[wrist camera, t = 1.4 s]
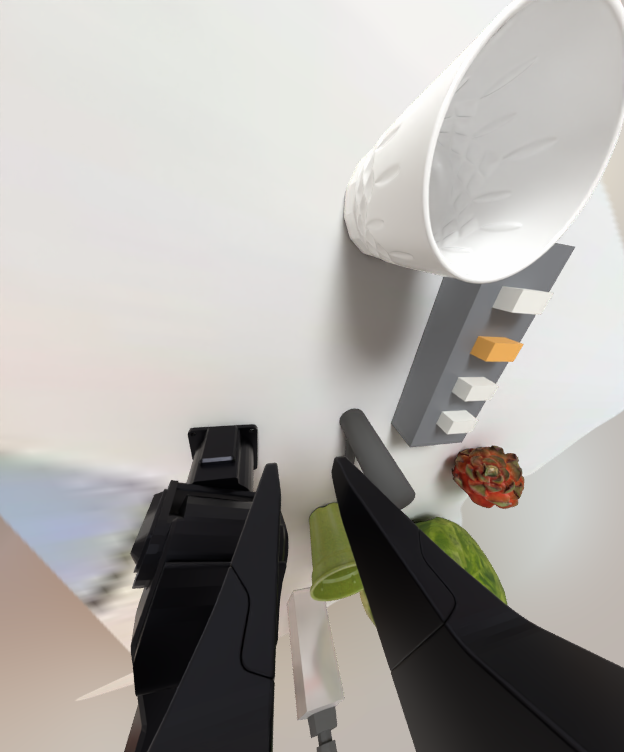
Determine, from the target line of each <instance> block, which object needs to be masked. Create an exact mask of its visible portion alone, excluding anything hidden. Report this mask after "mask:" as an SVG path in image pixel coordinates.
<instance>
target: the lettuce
mask: <svg viewBox="0 0 624 752" xmlns="http://www.w3.org/2000/svg"><path fill="white" fill-rule="evenodd" d="M414 524H415V525H416V526H418V528H419V529H421V530H422V531H423V532H424V533H425V534H426V535H427V536H428V537H429V538H430V539H431V540H432V541H433V542H434V543H435V544H436V545H437V546H439V547H440V548H441V549H442V550H443V551H444V552H445V553H446V554H447V555H448V556H450V557H451V558H452V559H453V560H454V561H455V562H456V563H458V564H459V565H460V566H461V567H462V568H463V569H465V570H466V571H467V572H468V573H469V574H471V575H472V576H473V577H474V578H475V579H476V580H478V581H479V582H480V583H481V584H482V585H484V586H485V587H486V588H487V589H488V590H490V591H491V592H492V593H493V594H494V595H495V596H497V597H498V598H499V599H500V600H501V601H503V602H504V603H505V604H506V605H507V601H506V596H505V592H504V589H503V587H502V585H501V583H500V580H499V578H498V576H497V574H496V572H495V570H494V569H493V567H492V565H491V564H490V562H489V560H488V559H487V557H486V555H485V554H484V553H483V551H482V550H481V549H480V547H479V545H478V544H477V543H476V542H475V540H474V539H473V538H472V537H471V536H470V535H469V534H468V532H467V531H466V530H465V529H463V528H462V527H461V526H459V525H458V524H456V523H454V522H452V521H450V520H447V519H444V518H439V517H436V518H434V519H431V520H428V521H425V522H419V523H414ZM360 597H361V601H362V604H363V606H364V609H365V611H366V613H367V615H368V617H369V618H370V619H371V621H372V622H373V624H374V625H375V622H374V619H373V616H372V612H371V609H370V606H369V603H368V600H367V597H366V594H365V591H364V589H363V590H361V591H360ZM375 626H376V625H375Z"/></svg>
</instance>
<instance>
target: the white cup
mask: <svg viewBox="0 0 624 752" xmlns="http://www.w3.org/2000/svg"><path fill="white" fill-rule="evenodd" d="M623 121H624V7H623V5H622V3H621V1H620V0H514V1H513V2H512V3H510V4H509V5H508V6H507V7H506V8H505V9H504V10H503V11H502V12H501V13H500V14H499V15H498V16H497V17H496V18H495V19H494V20H493V21H492V22H491V23H490V24H489V25H488V26H487V27H486V28H485V29H484V30H483V31H482V32H481V33H480V34H479V35H478V36H477V37H476V38H475V39H474V40H473V41H472V43H471V44H470V45H469V46H468V47H467V48H466V49H465V50H464V51H463V52H462V53H461V54H460V55H459V56H458V57H457V58H456V59H455V60H454V61H453V62H452V63H451V64H450V65H449V66H448V67H447V68H446V69H445V70H444V71H443V72H442V73H441V74H440V75H439V76H438V77H437V78H436V79H435V80H434V81H433V82H432V83H431V84H430V85H429V86H428V87H427V88H426V89H425V90H424V91H423V92H422V93H421V94H420V95H419V96H418V97H417V98H416V99H415V100H414V101H413V102H412V103H411V104H410V106H409V107H408V108H407V109H406V110H405V111H404V112H403V113H402V115H401V116H400V117H399V118H398V119H397V120H396V121H395V122H394V123H393V124H392V125H391V126H390V127H389V128H388V130H387V131H386V132H385V133H384V134H383V135H382V136H381V137H380V139H379V140H378V142H377V143H376V144H375V146H374V147H373V148H372V150H371V151H370V152H369V153H368V154H367V155H365V156H364V157H363V158H362V159H361V160H360V161H359V162H358V164H357V166H356V168H355V170H354V172H353V175H352V177H351V179H350V181H349V183H348V185H347V188H346V194H345V206H344V219H345V222H346V226H347V229H348V233H349V237H350V239H351V240H352V241H353V242H354V244H355V245H356V246H357V247H358V248H359V249H360V251H361V252H362V253H363V254H366V255H369V256H372V257H375V258H378V259H382V260H384V261H385V262H388V263H392V264H395V265H398V266H402V267H406V268H410V269H414V270H418V271H422V272H427V273H431V274H435V275H440V276H444V277H448V278H452V279H456V280H460V281H464V282H468V283H475V284H483V283H491V282H496V281H499V280H502V279H505V278H508V277H510V276H512V275H514V274H516V273H518V272H520V271H521V270H523V269H525V268H526V267H528V266H529V265H531V264H532V263H533V262H535V261H536V260H537V259H539V258H540V257H541V256H542V255H543V254H544V253H546V252H547V251H548V250H549V249H550V248H551V247H552V246H553V245H554V244H555V243H556V242H557V241H558V240H559V239H560V238H561V237H562V235H563V234H564V233H565V232H566V231H567V230H568V228H569V227H570V226H571V225H572V223H573V222H574V221H575V219H576V218H577V217H578V215H579V214H580V212H581V211H582V210H583V208H584V207H585V205H586V204H587V202H588V200H589V199H590V197H591V195H592V194H593V192H594V190H595V189H596V187H597V185H598V183H599V181H600V179H601V177H602V175H603V173H604V171H605V169H606V167H607V165H608V163H609V161H610V158H611V156H612V153H613V151H614V148H615V146H616V143H617V140H618V137H619V134H620V131H621V128H622V125H623Z"/></svg>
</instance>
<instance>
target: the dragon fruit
mask: <svg viewBox="0 0 624 752" xmlns="http://www.w3.org/2000/svg"><path fill="white" fill-rule="evenodd" d="M518 461H519V459H518V457H517V456H516V454H512V453H507V454H504V452H503V449H502V448H500V447H498V446H491V447H483V448H482V447H480V448H476V449H473V448H471V449H466V450H465V451H462V452H459V454H458V457H457V458H456V462H455V463H456V465H455V467H454V470H453V468H452V474H453V480H454V481H455V482H456V483H457V484H458V485H459V486H460V487H461V488H462V489H463V490H464V491H465V492H466V493H467V494H468V495H469V497H470V498H471V500H472V501H473V502H474V503H476V504H477V505H480V506H482V507H486V508H491V507H492V506H493V505H496V506H498V507H499V508H503V509H506V508H510V507H514V506H516V505H518V499H519V498H520V496H521V494H522V491H523V489H524V477H523V476H522V469H521V468H520V466H519V464H518Z"/></svg>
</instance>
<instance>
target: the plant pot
mask: <svg viewBox="0 0 624 752" xmlns="http://www.w3.org/2000/svg"><path fill="white" fill-rule="evenodd" d="M309 524H310V537H311V551H312V565H313V572H312V586H311V588H310V596H311V597H312V599H314V600H317V601H332V600H338V599H342V598H345V597H348V596H351V595H353V594H356V593H358V592H360V591H361V590H363V589H364V588H363V585H362V581H361V578H360V575H359V572H358V569H357V566H356V563H355V560H354V557H353V554H352V550H351V547H350V544H349V541H348V538H347V535H346V532H345V529H344V526H343V522H342V519H341V516H340V512H339V507H338V503H331V504H328V505H327V506H326V507H323V508H321V507H319V508H318V509H316V510H315V511H314V512H313V513H312V514H311V516H310V518H309Z"/></svg>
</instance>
